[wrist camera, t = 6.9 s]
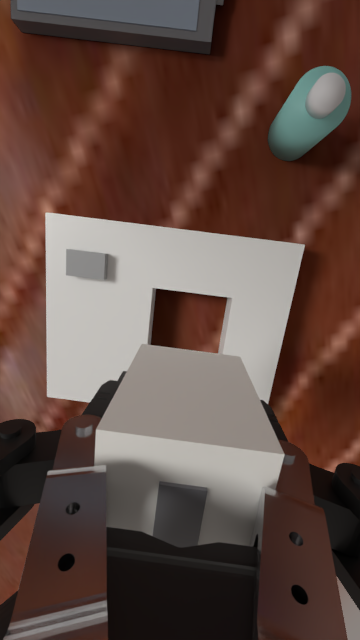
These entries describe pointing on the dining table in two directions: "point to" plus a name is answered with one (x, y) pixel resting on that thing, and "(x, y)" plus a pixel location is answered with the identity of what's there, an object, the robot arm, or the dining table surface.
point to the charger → (186, 448)
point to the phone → (122, 21)
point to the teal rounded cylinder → (310, 112)
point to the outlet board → (139, 296)
